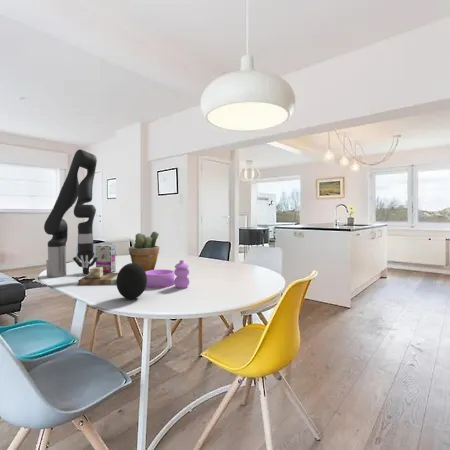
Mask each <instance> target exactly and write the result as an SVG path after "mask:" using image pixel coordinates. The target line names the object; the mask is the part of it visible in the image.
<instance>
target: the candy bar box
mask: <svg viewBox="0 0 450 450" xmlns="http://www.w3.org/2000/svg"><path fill="white" fill-rule="evenodd" d="M95 256H96V257H98V259H97V261H96V262H95V267H103V273H116V245H110V244H109V245H107V244H106V245H105V244H104V245H103V244H100V245H95Z"/></svg>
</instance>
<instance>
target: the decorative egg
mask: <svg viewBox="0 0 450 450" xmlns="http://www.w3.org/2000/svg"><path fill="white" fill-rule="evenodd" d="M117 273H118V275H117V280H116V284H115V285H116V288H117V291H118V293H119V294H120V295H121V296H122V297H123V298H125V299H128V300H134V299H137V298H139V297H140V296H141V295H143V293H144V292H145V290H146V288H147V287H146V285H147V276H146V272H145V270H144V269H143V268H142V267H141V266H140V265H138V264H136V263H132V262H130V263H127V264H125V265H123V266H122V268H121V269H119V271H118V272H117Z"/></svg>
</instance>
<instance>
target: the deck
mask: <svg viewBox="0 0 450 450" xmlns="http://www.w3.org/2000/svg"><path fill="white" fill-rule="evenodd" d="M118 273H119V272H111V273H109V272H103V276H101V277H90V273H88V275H84V277H82V278H80V279H78V282H77V283H78V286H97V285H98V286H99V285H100V286H103V285H104V286H105V285H106V286H108V285H110V286H111V285H117V284H116V280H117V275H118Z"/></svg>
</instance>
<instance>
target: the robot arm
mask: <svg viewBox="0 0 450 450" xmlns="http://www.w3.org/2000/svg"><path fill="white" fill-rule="evenodd" d="M97 159H98V158H97V156H96V155H95V154H93V153H90V152H88V151H86V150H83V149H80V148H79V149H77V150H76V151H75V153H74V155H73V158H72V160H71V163H70V167H69V170H68V171H67V172H68V173H67V175H66V177H65V180H64V182H63V183H62V186H61V189H60V190H59V193H58V195H57V196H58V197H57V199H56V201H55V202H54V205H53V208H52V209H51V211H50V213H49V215H48V217H47V218H46V220H45V222H44V225H43V229H44V232H45V233H46V234H47V235H51V236H52V237H51V239H50V240H48V241H47V259H46V261H45V262H46V277H47V278H48V277H49V278H60V277H64V276H67V241H68V234H69V232H68V230H69V229H68V223H67V221H66V220H65V219H64V217H65V214H66V213H67V212H68V210H69V209H71V208H72V207H73V206H74V204H75V206H74V208H73V214H74V217H75V218H78V219H88V220H86V221H83V222H79V223H78V224H77V253H76V256H74V257H73V258H72V261H74V262H75V264H77V266H78V267H80V268H82V274H83V275H84V276H87V275H89V274H90V267H91V268H92V267H94V265H95V264H96V261H97V259H98V257H96V254H95V252H94V234H93V227H94V226H93V224H94V220H95V215H96V212H97V210H96V209H97V208H96V207H95V205H93V204H86V203H91V202H92V200H93V185H94V179H95V174H96V168H97V163H98V162H97V161H98V160H97ZM80 168H83V169H85V170H86V175H85V176H84V178H83V179H82V180H81V181H80V183H79V178H78V175H79V174H78V173H79V169H80ZM91 260H92V261H91Z"/></svg>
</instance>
